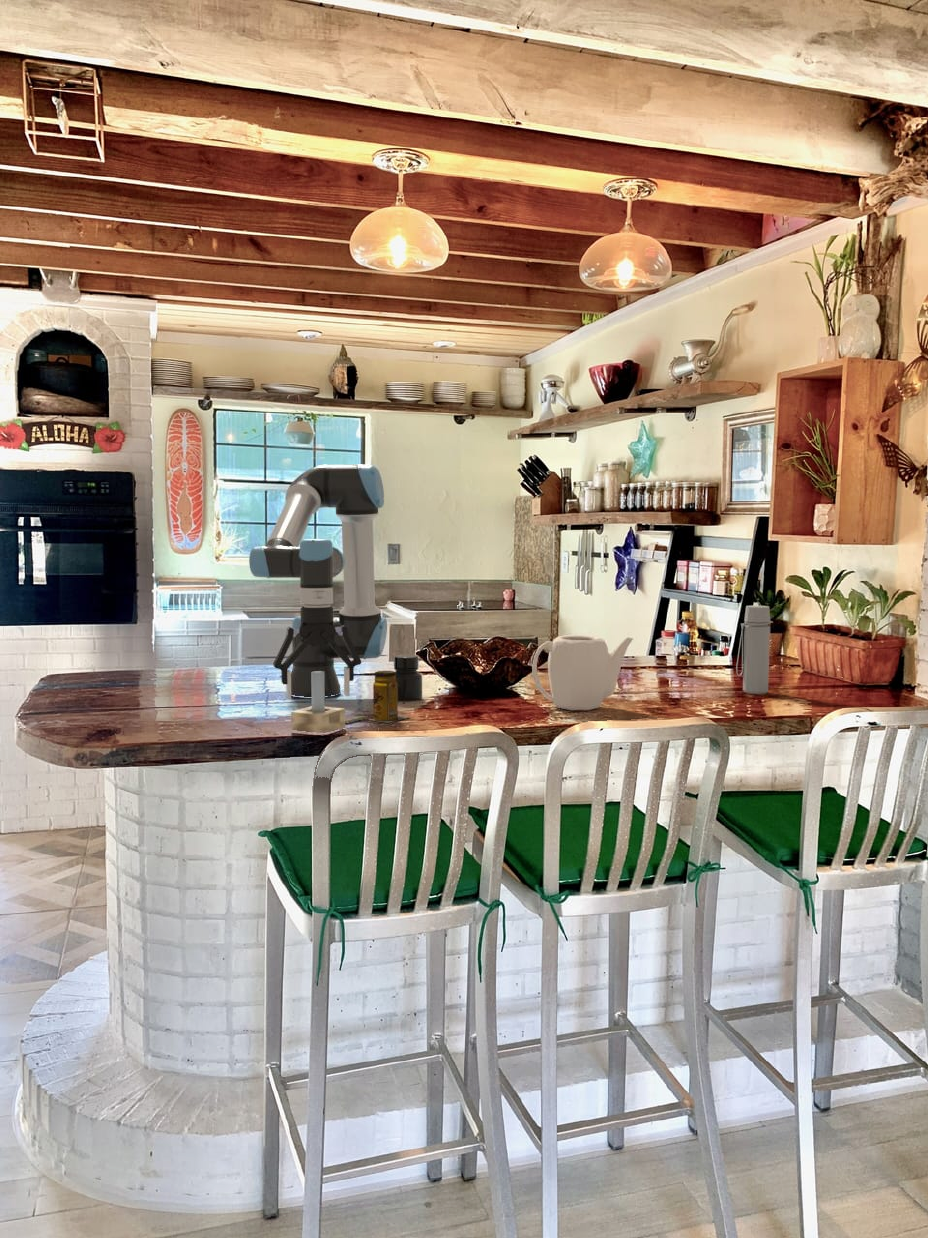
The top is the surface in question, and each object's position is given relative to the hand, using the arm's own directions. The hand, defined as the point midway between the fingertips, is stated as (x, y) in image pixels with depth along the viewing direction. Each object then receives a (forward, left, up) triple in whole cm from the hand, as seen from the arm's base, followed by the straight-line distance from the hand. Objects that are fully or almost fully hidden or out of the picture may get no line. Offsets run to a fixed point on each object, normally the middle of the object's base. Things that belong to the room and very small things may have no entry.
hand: (318, 696), depth 225 cm
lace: (+1, +12, -8) cm, 15 cm away
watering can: (+45, +56, -8) cm, 72 cm away
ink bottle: (-3, +46, -8) cm, 47 cm away
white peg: (0, 0, -8) cm, 8 cm away
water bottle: (+81, +100, -8) cm, 129 cm away
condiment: (+7, +20, -8) cm, 23 cm away
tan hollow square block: (0, 0, -8) cm, 8 cm away
